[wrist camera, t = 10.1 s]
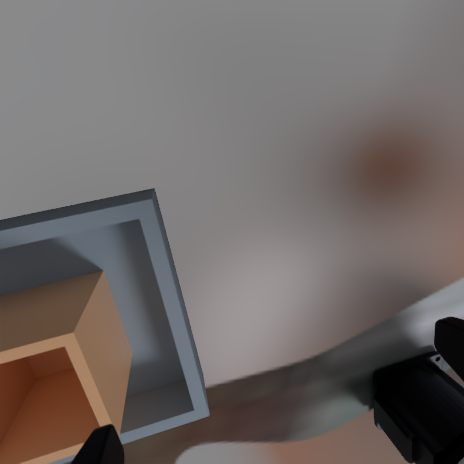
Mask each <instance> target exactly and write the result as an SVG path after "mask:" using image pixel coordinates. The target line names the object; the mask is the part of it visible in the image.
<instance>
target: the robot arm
mask: <svg viewBox="0 0 464 464" xmlns="http://www.w3.org/2000/svg"><path fill="white" fill-rule="evenodd" d="M434 345H435V348H436V350H437V351H434V352H431V353H428V354H425V355H422V356H419V357H416V358H413V359H410V360H407V361H404V362H401V363H398V364H395V365H392V366H389V367H386V368H383V369H380V370H377V371H376V372H375V373H374V376H373V381H374V398H373V401H374V421H375V425H376V426H377V428H378V429H380V430H381V429H383V431H384V432H385V433H386V435H387V436H388V437H389V439H390V440H391V441H392V443H393V444H394V445H395V447H396V448H397V449H398V450H399V452H400V453H401V455H402V456H403V457H404V459H405V460H406V461H407V462H409V463H414V462H415V464H464V388H463V387H462V386H461V385H460V384H458V383H457V382H456V381H455V380H453V379H452V378H451V377H450V376H449V375H447V374H446V373H445V372H444V371H443V370H442V364H443V359H444V360H445V361H446V362H447V363H448V364H449V365H450V367H451V368H452V369H453V370H454V371H455V372H456V373H457V375H458V376H459V377H460V378H461V379H462V380H463V381H464V320H463V319H459V318H455V317H446V318H443V319H440V320H438V321H437V322H436V323H435V337H434ZM70 464H124V449H123V446H122V443H121V441H120V438H119V436H118V434H117V431H116V429H115V427H114V425H113V424H107V425H104V426H101V427H98V428H96V429H94V430H93V431H92V433H91V434H90V435H89V437H88V438H87V440H86V441H85V443H84V444H83V446H82V447H81V449H80V450H79V452H78V453H77V455H76V456H75V457H74V459H73V460H72V462H71V463H70Z"/></svg>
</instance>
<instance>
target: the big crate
mask: <svg viewBox="0 0 464 464" xmlns="http://www.w3.org/2000/svg"><path fill="white" fill-rule="evenodd" d="M100 271H104V274H105V276H106V279H107V282H108V285H109V288H110V291H111V293H112V296H113V299H114V302H115V305H116V308H117V310H118V313H119V316H120V319H121V322H122V325H123V327H124V330H125V333H126V336H127V339H128V341H129V344H130V347H131V350H132V353H133V354H132V360H131V366H130V373H129V379H128V385H127V392H126V398H125V405H124V411H123V417H122V424H121V430H120V436H119V438H120V441H121V443H122V444H125V443H128V442H131V441H134V440H137V439H140V438H143V437H146V436H149V435H153V434H156V433H159V432H162V431H165V430H168V429H171V428H174V427H177V426H180V425H183V424H186V423H189V422H192V421H195V420H198V419H202V418H205V417H208V416H210V414H209V408H208V402H207V396H206V390H205V383H204V377H203V373H202V369H201V365H200V361H199V357H198V353H197V349H196V346H195V342H194V338H193V334H192V331H191V326H190V323H189V319H188V315H187V311H186V307H185V303H184V300H183V296H182V292H181V288H180V284H179V280H178V277H177V273H176V269H175V265H174V261H173V258H172V254H171V250H170V246H169V242H168V238H167V235H166V231H165V227H164V223H163V219H162V215H161V212H160V208H159V204H158V200H157V196H156V192H155V189H154V188H153V189H148V190H144V191H139V192H134V193H130V194H124V195H119V196H114V197H110V198H105V199H100V200H95V201H91V202H85V203H81V204H76V205H71V206H66V207H61V208H56V209H51V210H46V211H42V212H37V213H32V214H28V215H22V216H17V217H13V218H8V219H3V220H0V296H1V295H5V294H9V293H13V292H18V291H22V290H26V289H30V288H34V287H38V286H42V285H46V284H50V283H54V282H59V281H63V280H67V279H71V278H75V277H79V276H83V275H87V274H91V273H95V272H100ZM76 455H77V454H75V455H72V456H69V457H66V458H63V459H60V460H57V461H54V462H51V463H48V464H64V463H67V462H70V461H72V460H73V459H74V457H75V456H76Z"/></svg>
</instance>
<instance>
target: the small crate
mask: <svg viewBox="0 0 464 464" xmlns="http://www.w3.org/2000/svg"><path fill="white" fill-rule="evenodd" d="M132 354H133V353H132V350H131V347H130V344H129V341H128V339H127V336H126V333H125V330H124V327H123V325H122V322H121V319H120V316H119V313H118V310H117V308H116V305H115V302H114V299H113V296H112V293H111V291H110V288H109V285H108V282H107V279H106V276H105V274H104V271H100V272H95V273H91V274H87V275H83V276H79V277H75V278H71V279H67V280H63V281H59V282H54V283H50V284H46V285H42V286H38V287H34V288H30V289H26V290H22V291H18V292H13V293H9V294H5V295H1V296H0V464H48V463H51V462H54V461H57V460H60V459H63V458H66V457H69V456H72V455H75V454H77V453H78V452H79V450H80V449H81V447H82V446H83V444H84V443H85V441H86V440H87V438H88V437H89V435H90V434H91V433H92V431H93V430H94V429H96V428H98V427H101V426H104V425H107V424H113V425H114V427H115V429H116V431H117V434H118V436H120V430H121V424H122V417H123V411H124V405H125V398H126V392H127V385H128V379H129V373H130V366H131V360H132Z"/></svg>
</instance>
